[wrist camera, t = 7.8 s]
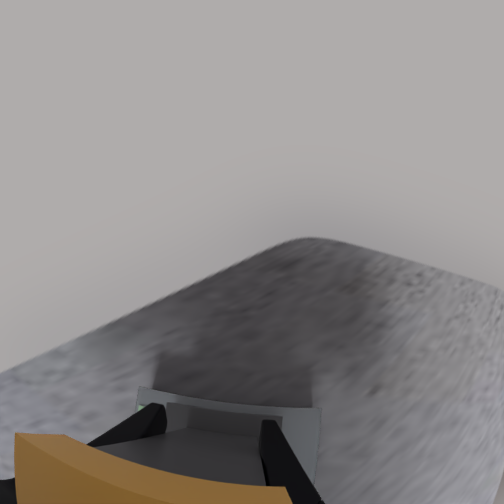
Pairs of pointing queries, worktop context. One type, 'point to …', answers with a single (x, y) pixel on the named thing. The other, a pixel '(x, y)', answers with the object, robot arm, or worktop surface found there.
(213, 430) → the breaker handle
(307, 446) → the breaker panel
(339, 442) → the worktop surface
